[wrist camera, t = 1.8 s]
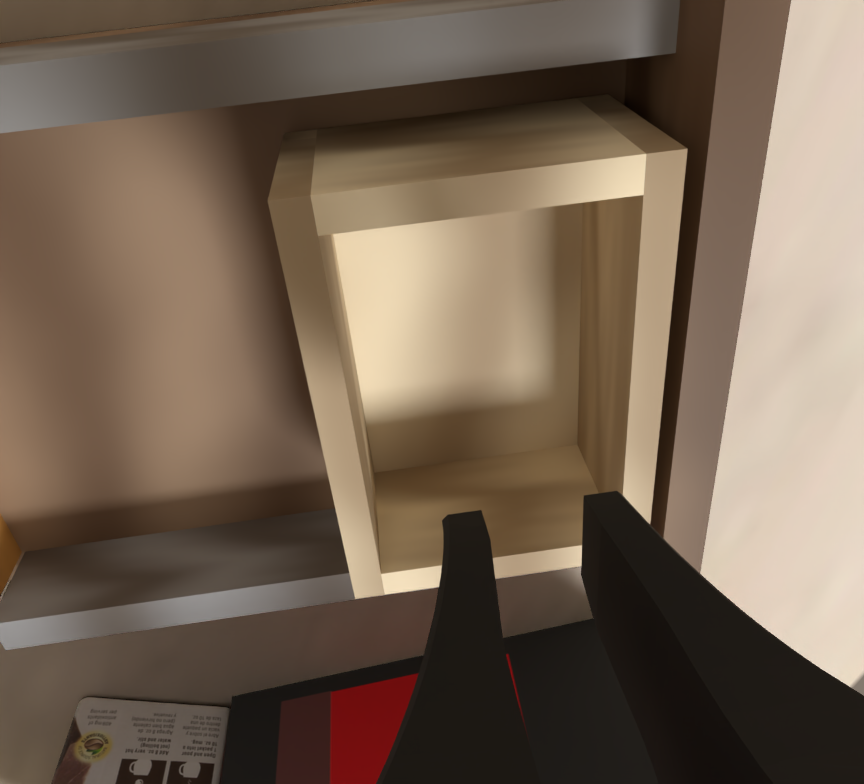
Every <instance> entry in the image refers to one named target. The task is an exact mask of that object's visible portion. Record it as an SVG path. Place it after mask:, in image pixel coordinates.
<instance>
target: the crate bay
mask: <svg viewBox="0 0 864 784" xmlns="http://www.w3.org/2000/svg"><path fill="white" fill-rule="evenodd" d="M790 3H791V0H375V1H366V2H357V3H349V4H340V5H331V6H322V7H314V8H305V9H296V10H287V11H279V12H270V13H261V14H252V15H244V16H235V17H226V18H217V19H209V20H200V21H191V22H182V23H174V24H165V25H156V26H147V27H139V28H130V29H121V30H112V31H104V32H95V33H86V34H77V35H69V36H60V37H51V38H42V39H34V40H25V41H16V42H7V43H0V596H1V594H2V592H3V590H4V588H5V586H6V583H7V581H10V583H9V585H8V588H7V590H6V592H5V594H4V596H3V598H2V600H1V602H0V642H1V644H2V645H3V647H4V648H5V650H11V649H18V648H25V647H32V646H39V645H46V644H53V643H60V642H67V641H74V640H80V639H87V638H94V637H101V636H108V635H115V634H122V633H129V632H136V631H143V630H150V629H156V628H163V627H170V626H177V625H184V624H191V623H198V622H205V621H212V620H219V619H225V618H232V617H239V616H246V615H253V614H260V613H267V612H274V611H281V610H288V609H294V608H301V607H308V606H315V605H322V604H329V603H336V602H343V601H350V600H357V599H355V596H354V591H353V587H352V582H351V578H350V573H349V568H348V564H347V559H346V555H345V550H344V546H343V541H342V537H341V532H340V528H339V523H338V518H337V514H336V509H335V505H334V500H333V496H332V491H331V487H330V482H329V478H328V473H327V468H326V464H325V459H324V455H323V450H322V446H321V441H320V437H319V432H318V428H317V423H316V418H315V414H314V409H313V405H312V400H311V396H310V391H309V387H308V382H307V378H306V373H305V368H304V364H303V359H302V355H301V350H300V346H299V341H298V337H297V332H296V327H295V323H294V318H293V314H292V309H291V305H290V300H289V296H288V291H287V287H286V282H285V277H284V273H283V268H282V264H281V259H280V255H279V250H278V246H277V241H276V237H275V232H274V228H273V223H272V218H271V214H270V209H269V205H268V197H269V193H270V189H271V185H272V181H273V177H274V173H275V169H276V165H277V161H278V157H279V153H280V149H281V144H282V140H283V136H284V133H291V132H299V131H307V130H315V129H324V128H332V127H340V126H349V125H357V124H365V123H374V122H382V121H390V120H398V119H407V118H415V117H423V116H432V115H440V114H448V113H456V112H465V111H473V110H481V109H490V108H498V107H506V106H515V105H523V104H531V103H539V102H548V101H556V100H564V99H573V98H581V97H589V96H597V95H606V94H608V95H610V96H611V97H613V98H614V99H616V100H617V101H619V102H620V103H621V104H623V105H624V106H626V107H627V108H629V109H630V110H632V111H633V112H635V113H636V114H638V115H639V116H640V117H642V118H643V119H645V120H646V121H648V122H649V123H651V124H652V125H654V126H655V127H657V128H658V129H660V130H661V131H662V132H664V133H665V134H667V135H668V136H670V137H671V138H673V139H674V140H676V141H677V142H679V143H680V144H682V145H683V146H684V147H686V148H687V149H688V150H687V160H686V170H685V180H684V190H683V200H682V210H681V220H680V231H679V241H678V251H677V261H676V271H675V281H674V291H673V301H672V311H671V321H670V331H669V341H668V351H667V361H666V371H665V381H664V391H663V401H662V411H661V421H660V431H659V442H658V452H657V462H656V472H655V482H654V492H653V502H652V512H651V522H650V525H651V526H652V527H653V528H654V529H655V530H656V531H657V532H658V533H659V534H660V535H661V536H662V537H663V538H664V539H665V541H666V542H667V543H668V544H669V545H670V546H671V547H673V548H674V549H675V550H676V551H677V552H678V553H679V554H680V555H681V556H682V557H683V558H684V559H685V560H686V561H687V562H688V563H689V564H690V565H691V566H692V567H693V568H695V569H696V570H697V571H698V572H699V573H700V570H701V564H702V558H703V552H704V545H705V539H706V533H707V526H708V520H709V514H710V507H711V501H712V495H713V488H714V482H715V476H716V470H717V463H718V457H719V451H720V444H721V438H722V432H723V425H724V419H725V413H726V406H727V400H728V394H729V388H730V381H731V375H732V369H733V362H734V356H735V350H736V343H737V337H738V331H739V325H740V318H741V312H742V306H743V299H744V293H745V287H746V280H747V274H748V268H749V261H750V255H751V249H752V243H753V236H754V230H755V224H756V217H757V211H758V205H759V198H760V192H761V186H762V179H763V173H764V167H765V161H766V154H767V148H768V142H769V135H770V129H771V123H772V116H773V110H774V104H775V97H776V91H777V85H778V79H779V72H780V66H781V60H782V53H783V47H784V41H785V34H786V28H787V22H788V15H789V9H790ZM579 567H581V566H579ZM572 568H577V567H572ZM565 569H571V568H565ZM559 570H564V569H559ZM552 571H557V570H552ZM545 572H550V571H545ZM538 573H543V572H538ZM531 574H536V573H531ZM524 575H529V574H524ZM517 576H522V575H517ZM510 577H515V576H510ZM503 578H508V577H503ZM496 579H501V578H496ZM434 588H439V587H434ZM427 589H432V588H427ZM421 590H426V589H421ZM414 591H419V590H414ZM407 592H412V591H407ZM400 593H405V592H400ZM393 594H398V593H393ZM386 595H391V594H386ZM379 596H384V595H379ZM372 597H377V596H372ZM365 598H370V597H365ZM358 599H363V598H358Z"/></svg>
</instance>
